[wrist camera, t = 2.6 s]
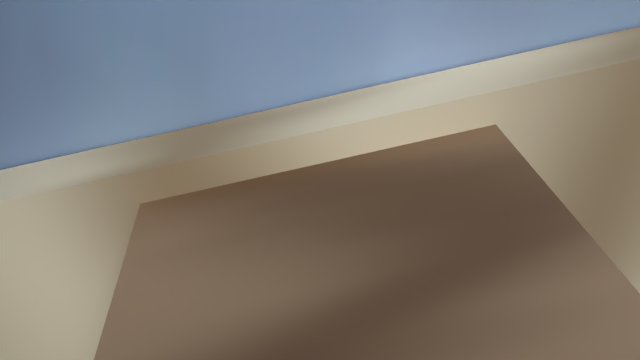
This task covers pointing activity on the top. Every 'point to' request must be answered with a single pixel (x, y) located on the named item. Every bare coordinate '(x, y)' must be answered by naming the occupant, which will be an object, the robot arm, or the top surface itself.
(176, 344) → the walnut block
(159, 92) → the top surface
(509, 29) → the top surface
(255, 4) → the top surface
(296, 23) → the top surface
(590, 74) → the board
